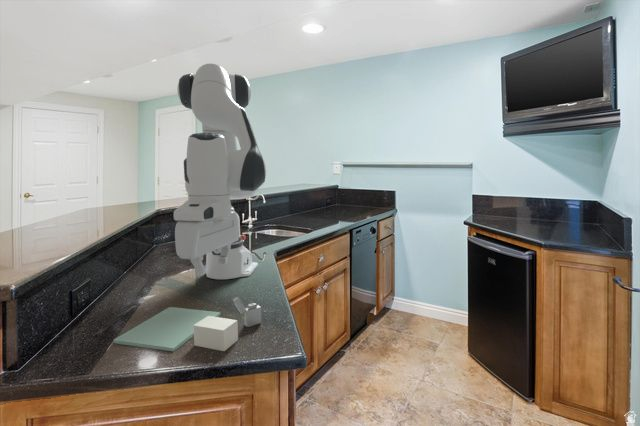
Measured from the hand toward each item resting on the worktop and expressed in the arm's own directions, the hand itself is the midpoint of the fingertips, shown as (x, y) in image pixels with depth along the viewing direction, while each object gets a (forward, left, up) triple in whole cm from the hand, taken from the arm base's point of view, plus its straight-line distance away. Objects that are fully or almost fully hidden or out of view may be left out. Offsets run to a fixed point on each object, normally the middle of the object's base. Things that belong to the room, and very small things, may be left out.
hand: (212, 269), depth 81 cm
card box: (0, 0, -18) cm, 18 cm away
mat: (-4, -15, -18) cm, 23 cm away
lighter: (-10, +3, -18) cm, 21 cm away
